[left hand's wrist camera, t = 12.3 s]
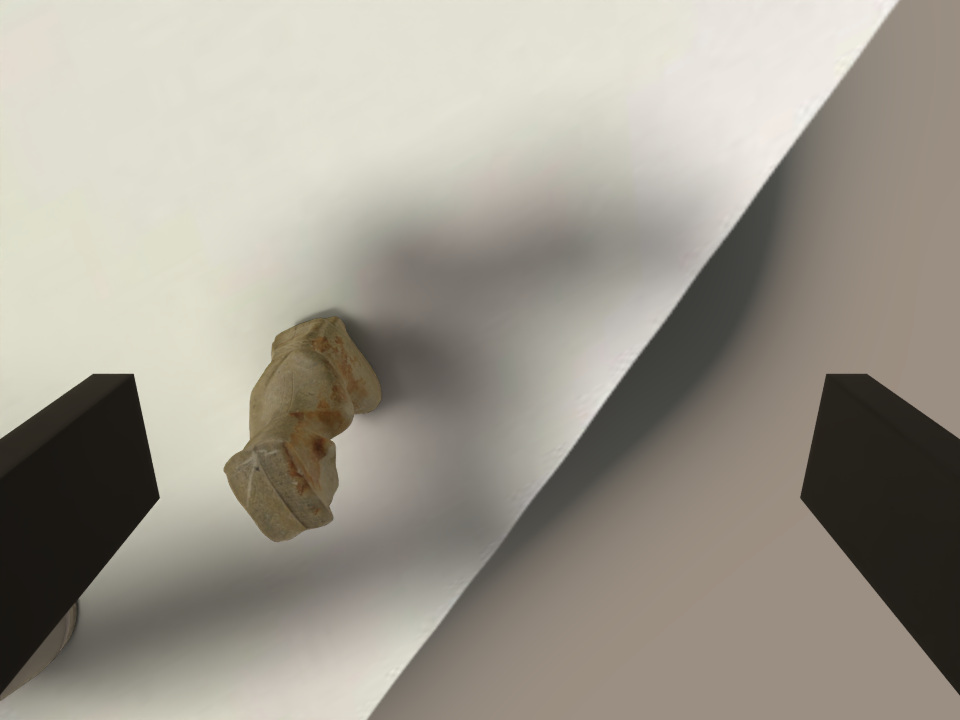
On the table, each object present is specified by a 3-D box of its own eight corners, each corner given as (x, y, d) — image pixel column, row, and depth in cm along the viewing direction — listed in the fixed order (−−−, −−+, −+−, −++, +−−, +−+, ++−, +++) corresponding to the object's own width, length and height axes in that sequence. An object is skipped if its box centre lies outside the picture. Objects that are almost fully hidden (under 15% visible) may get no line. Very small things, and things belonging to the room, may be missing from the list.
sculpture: (318, 420, 44) (243, 567, 30) (270, 324, 42) (164, 436, 28) (398, 393, 43) (359, 531, 29) (354, 294, 41) (289, 394, 27)
